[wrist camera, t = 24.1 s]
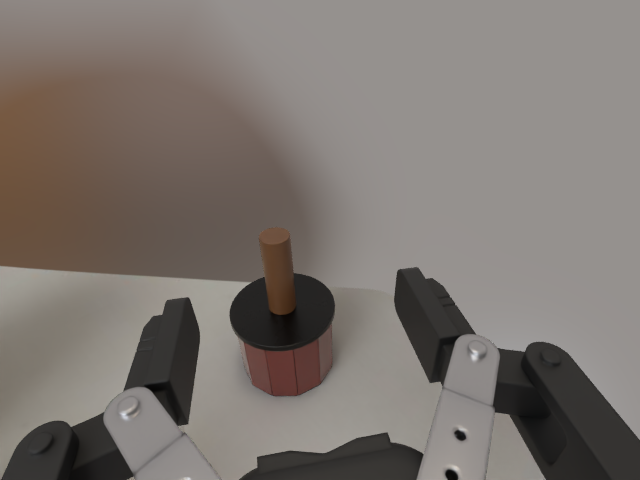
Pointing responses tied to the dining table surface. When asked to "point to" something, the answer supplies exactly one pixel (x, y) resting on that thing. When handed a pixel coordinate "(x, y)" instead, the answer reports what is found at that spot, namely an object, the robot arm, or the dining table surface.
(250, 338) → the lid
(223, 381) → the dining table surface
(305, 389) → the pot
